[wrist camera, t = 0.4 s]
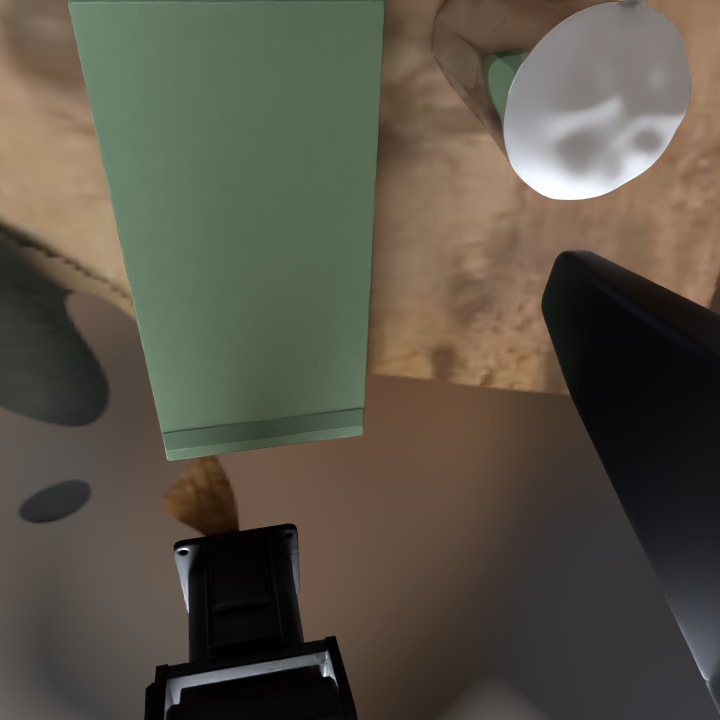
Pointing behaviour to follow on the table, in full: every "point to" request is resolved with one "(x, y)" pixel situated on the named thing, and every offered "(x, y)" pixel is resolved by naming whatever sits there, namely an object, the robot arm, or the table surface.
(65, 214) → the table surface
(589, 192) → the milkshake
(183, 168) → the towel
